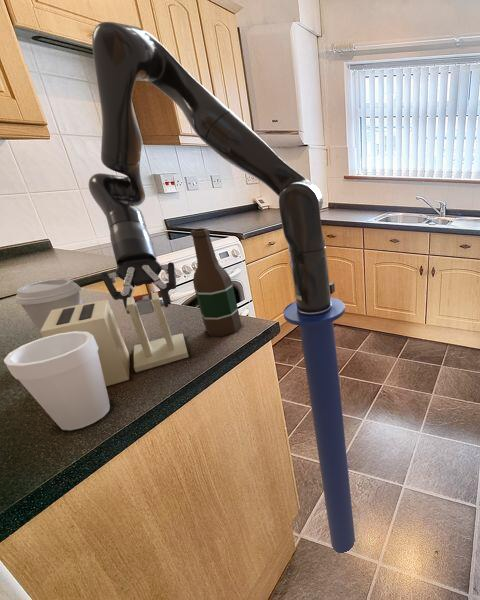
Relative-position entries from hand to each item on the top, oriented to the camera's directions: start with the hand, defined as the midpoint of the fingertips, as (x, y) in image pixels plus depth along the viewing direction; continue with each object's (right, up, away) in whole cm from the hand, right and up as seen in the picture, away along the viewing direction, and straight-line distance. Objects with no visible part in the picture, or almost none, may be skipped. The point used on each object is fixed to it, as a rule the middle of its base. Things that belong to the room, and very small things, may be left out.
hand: (150, 308), depth 75 cm
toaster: (-1, -12, -10) cm, 16 cm away
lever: (+2, 0, -4) cm, 4 cm away
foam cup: (+5, -17, -20) cm, 27 cm away
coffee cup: (-15, -9, -2) cm, 17 cm away
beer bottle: (+13, -5, +6) cm, 16 cm away
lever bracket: (+5, -9, -4) cm, 11 cm away
